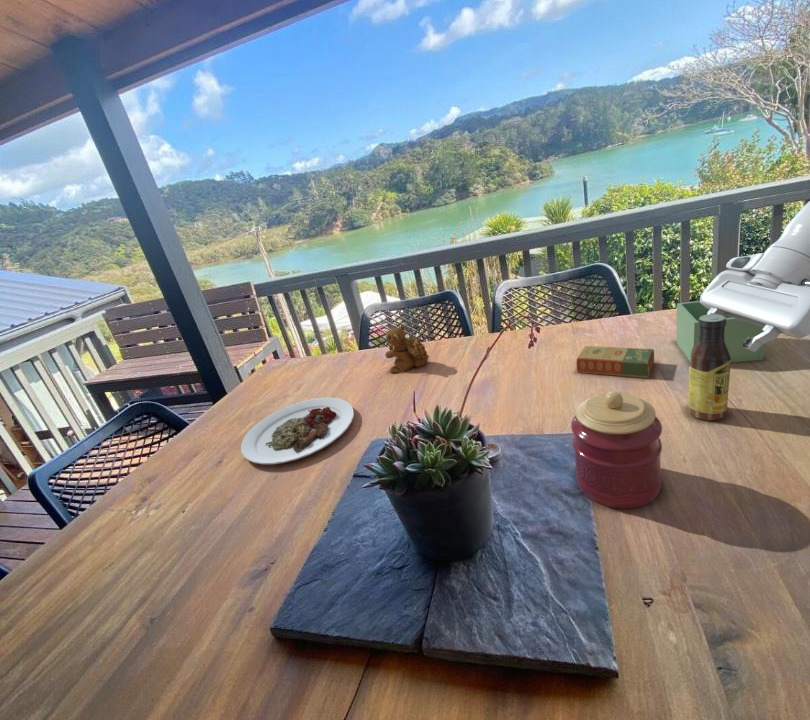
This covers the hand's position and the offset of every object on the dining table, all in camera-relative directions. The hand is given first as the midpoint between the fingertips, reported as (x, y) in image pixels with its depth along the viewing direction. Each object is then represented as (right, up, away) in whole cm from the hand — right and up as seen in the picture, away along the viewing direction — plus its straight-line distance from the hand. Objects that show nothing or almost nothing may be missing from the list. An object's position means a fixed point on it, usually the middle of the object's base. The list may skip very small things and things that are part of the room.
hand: (725, 340), depth 79 cm
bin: (+17, -1, +25) cm, 30 cm away
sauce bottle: (0, -14, +5) cm, 15 cm away
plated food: (-86, -23, +35) cm, 96 cm away
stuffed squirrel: (-57, -6, +58) cm, 82 cm away
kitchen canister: (-23, -25, -6) cm, 34 cm away
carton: (-6, -6, +29) cm, 30 cm away
